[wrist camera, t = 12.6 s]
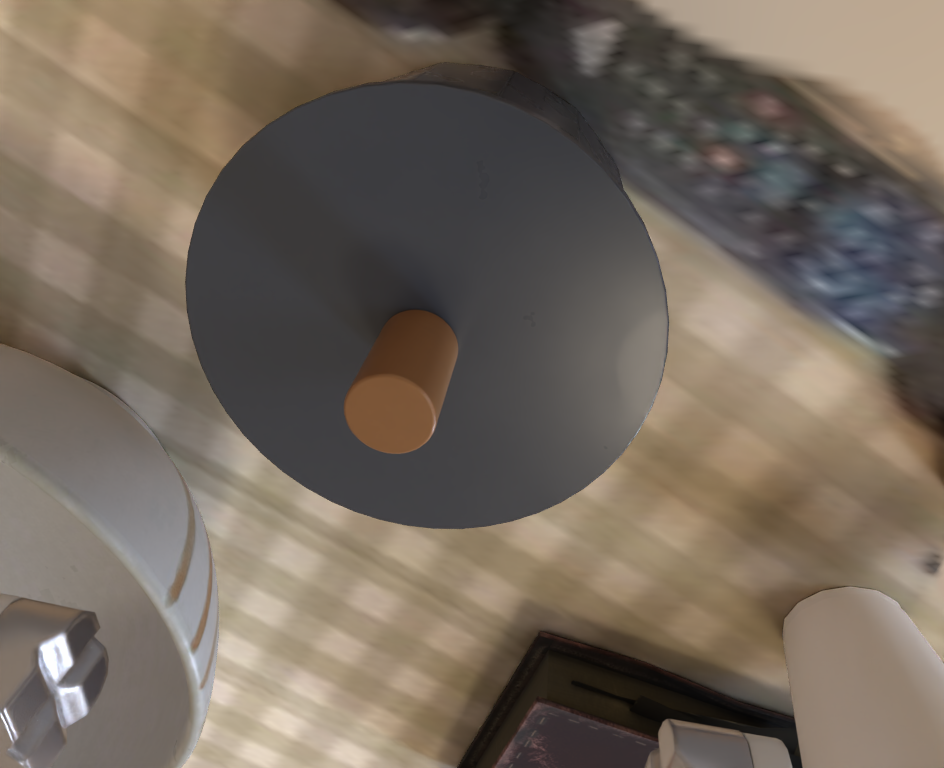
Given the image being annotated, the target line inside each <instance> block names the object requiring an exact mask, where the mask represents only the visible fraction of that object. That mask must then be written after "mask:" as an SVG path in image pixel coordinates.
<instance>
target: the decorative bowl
mask: <svg viewBox="0 0 944 768" xmlns="http://www.w3.org/2000/svg"><path fill="white" fill-rule="evenodd" d="M0 593H3V594H8V595H14V596H19V597H25V598H28V599H32V600H37V601H42V602H47V603H52V604H57V605H62V606H67V607H72V608H77V609H82V610H87V611H92V612H95V613H96V616H97V619H98V622H99V624H100V627H101V628H100V629H99V630H98V632H97V633H96V634H95V636H94V637H95V638H96V639H97V640H98V641H99V642H100V643H101V644H102V645H103V646H105V647H106V649H107V654H108V658H109V666H108V675H107V678H106V681H105V683H104V686H103V689H102V691H101V694H100V696H99V698H98V699H97V701H96V702H95V704H94V705H93V707H92V708H91V710H90V711H89V713H88V715H86V716H85V717H83V718H81V719H80V720H78V721H76V722H75V723H73V724H72V725H70V726H68V727H67V746H66V747H65V749H64V750H63V752H62V753H61V754H60V756H59V757H58V759H57V760H56V762H55V763H54V765H53V766H52V768H182V766H183V765H184V764H185V762H186V761H187V760H188V759H189V757H190V755H191V754H192V752H193V750H194V748H195V747H196V744H197V742H198V739H199V737H200V734H201V732H202V729H203V726H204V723H205V719H206V715H207V711H208V707H209V703H210V698H211V693H212V688H213V682H214V676H215V668H216V659H217V650H218V638H219V597H218V586H217V578H216V571H215V564H214V559H213V554H212V550H211V546H210V541H209V538H208V534H207V531H206V528H205V525H204V522H203V519H202V516H201V514H200V511H199V509H198V507H197V504H196V502H195V500H194V498H193V496H192V494H191V492H190V490H189V488H188V486H187V484H186V482H185V480H184V479H183V477H182V475H181V474H180V472H179V471H178V469H177V467H176V466H175V464H174V463H173V461H172V460H171V459H170V457H169V456H168V454H167V453H166V452H165V451H164V449H163V447H162V446H161V444H160V442H159V441H158V439H157V438H156V436H155V435H154V433H153V432H152V431H151V429H150V428H149V427H148V426H147V425H146V423H145V422H144V421H143V420H142V419H141V418H140V417H139V416H138V415H137V414H136V413H135V412H134V411H133V410H132V409H131V408H129V407H128V406H127V405H126V404H125V403H123V402H122V401H121V400H120V399H118V398H117V397H115V396H114V395H113V394H111V393H110V392H108V391H106V390H105V389H103V388H101V387H100V386H98V385H96V384H94V383H92V382H90V381H88V380H86V379H84V378H81V377H79V376H77V375H74V374H72V373H70V372H68V371H67V370H65V369H63V368H61V367H59V366H57V365H55V364H53V363H51V362H48V361H46V360H44V359H41V358H39V357H37V356H34V355H32V354H29V353H27V352H24V351H21V350H19V349H16V348H13V347H10V346H7V345H4V344H1V343H0Z"/></svg>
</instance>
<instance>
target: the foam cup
mask: <svg viewBox="0 0 944 768" xmlns="http://www.w3.org/2000/svg"><path fill="white" fill-rule="evenodd" d="M782 637H783V640H784V653H785V659H786V665H787V672H788V678H789V684H790V691H791V697H792V703H793V710H794V716H795V723H796V729H797V735H798V742H799V748H800V754H801V761H802V767H803V768H944V663H943V661H942V660H941V659H940V657H939V656H938V655H937V653H936V652H935V651H934V649H933V648H932V647H931V645H930V644H929V643H928V641H927V640H926V639H925V637H924V636H923V635H922V633H921V632H920V631H919V629H918V628H917V627H916V625H915V624H914V623H913V621H912V620H911V619H910V617H909V616H908V615H907V613H906V612H905V611H904V610H902V609H901V607H900V605H899V603H898V602H897V601H895V600H893V599H891V598H890V597H888V596H886V595H885V594H883V593H881V592H880V591H878V590H871V589H865V588H858V587H852V586H849V587H843V588H836V589H830V590H823V591H820V592H818V593H816V594H814V595H812V596H810V597H808V598H806V599H804V600H802V601H800V602H798V603H797V605H796V606H795V607H794V608H793V609H792V610H791V612H790V613H789V614H788V615H787V616H786V618H785V619H784V626H783V634H782Z"/></svg>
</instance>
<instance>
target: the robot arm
mask: <svg viewBox="0 0 944 768" xmlns="http://www.w3.org/2000/svg"><path fill="white" fill-rule="evenodd" d="M100 628H101V627H100V624H99V622H98V619H97V616H96V613H95V612H92V611H87V610H82V609H77V608H72V607H67V606H62V605H57V604H52V603H47V602H42V601H37V600H32V599H28V598H25V597H19V596H14V595H8V594H3V593H0V768H52V766H53V765H54V763H55V762H56V760H57V759H58V757H59V756H60V754H61V753H62V752H63V750H64V749H65V747H66V746H67V727H68V726H70V725H72V724H73V723H75V722H76V721H78V720H80V719H81V718H83V717H85V716H86V715H88V713H89V711H90V710H91V708H92V707H93V705H94V704H95V702H96V701H97V699H98V698H99V696H100V694H101V691H102V689H103V686H104V683H105V681H106V678H107V675H108V666H109V658H108V654H107V649H106V647H105V646H103V645H102V644H101V643H100V642H99V641H98V640H97V639H96V638H95V637H94V636H95V634H96V633H97V632H98V630H99V629H100ZM658 739H659V748H658V749H655V750H653V751H651V752H650V754H649V757H648V760H647V763H646V765H645V768H792V764H791V760H790V757H789V753H788V749H787V748H786V747H785V745H784V744H783V742H782V741H781V740H779V739H777V738H772V737H766V736H760V735H754V734H748V733H742V732H740V731H738V730H732V729H726V728H720V727H715V726H709V725H703V724H697V723H691V722H685V721H679V720H673V719H666V720H665V721H663V723H662V725H661V727H660V729H659V732H658Z"/></svg>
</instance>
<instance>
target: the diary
mask: <svg viewBox="0 0 944 768" xmlns="http://www.w3.org/2000/svg"><path fill="white" fill-rule="evenodd" d="M666 719H673V720H679V721H685V722H691V723H697V724H703V725H709V726H715V727H720V728H726V729H732V730H738V731H740V732H742V733H748V734H754V735H760V736H766V737H772V738H777V739H779V740H781V741H782V742H783V744H784V745H785V747H786V748H787V749H788V753H789V757H790V760H791V764H792V768H803V767H802V761H801V754H800V748H799V742H798V735H797V729H796V723H795V718H791V717H788V716H784V715H781V714H778V713H774V712H771V711H768V710H764V709H761V708H758V707H754V706H751V705H747V704H744V703H741V702H738V701H736V700H733V699H731V698H729V697H726V696H724V695H721V694H719V693H717V692H714V691H712V690H709V689H707V688H705V687H702V686H700V685H698V684H695V683H693V682H690V681H688V680H686V679H683V678H681V677H679V676H676V675H674V674H671V673H669V672H667V671H664V670H662V669H660V668H657V667H655V666H652V665H650V664H648V663H645V662H642V661H639V660H635V659H632V658H629V657H625V656H622V655H618V654H615V653H612V652H608V651H605V650H601V649H598V648H595V647H591V646H588V645H584V644H581V643H578V642H574V641H571V640H568V639H564V638H561V637H557V636H554V635H551V634H548V633H545V632H542V631H540V632H539V634H538V635H537V637H536V639H535V640H534V642H533V644H532V645H531V647H530V649H529V650H528V652H527V654H526V655H525V657H524V658H523V660H522V662H521V663H520V665H519V667H518V668H517V670H516V672H515V673H514V675H513V677H512V678H511V680H510V682H509V683H508V685H507V686H506V688H505V690H504V691H503V693H502V695H501V696H500V698H499V700H498V701H497V703H496V705H495V706H494V708H493V710H492V711H491V713H490V714H489V716H488V718H487V719H486V721H485V723H484V724H483V726H482V728H481V729H480V731H479V733H478V734H477V736H476V738H475V739H474V741H473V742H472V744H471V746H470V747H469V749H468V751H467V752H466V754H465V756H464V757H463V759H462V761H461V762H460V764H459V766H458V767H457V768H645V765H646V763H647V760H648V757H649V754H650V752H651V751H653V750H655V749H658V748H659V739H658V732H659V729H660V727H661V725H662V723H663V721H665V720H666Z"/></svg>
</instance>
